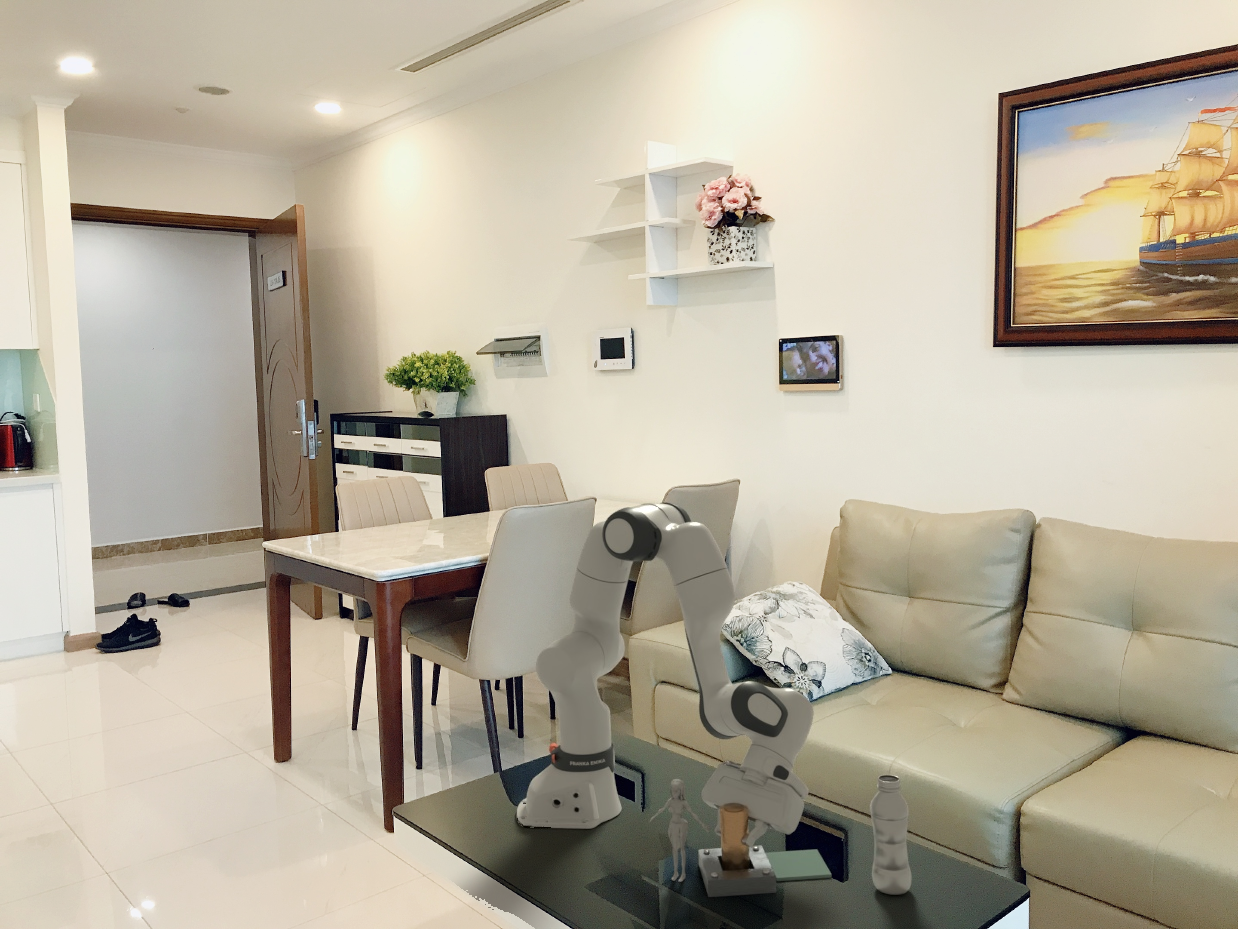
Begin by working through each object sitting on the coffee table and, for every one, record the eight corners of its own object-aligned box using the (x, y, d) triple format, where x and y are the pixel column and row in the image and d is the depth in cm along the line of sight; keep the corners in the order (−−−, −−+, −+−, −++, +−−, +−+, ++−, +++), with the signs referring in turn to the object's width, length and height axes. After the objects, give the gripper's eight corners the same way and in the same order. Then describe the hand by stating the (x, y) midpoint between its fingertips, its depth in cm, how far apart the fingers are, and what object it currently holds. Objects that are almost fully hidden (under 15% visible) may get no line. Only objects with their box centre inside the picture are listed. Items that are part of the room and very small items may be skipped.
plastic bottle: (913, 901, 165) (911, 786, 164) (872, 898, 166) (869, 784, 165) (910, 882, 171) (907, 772, 170) (870, 880, 172) (867, 770, 171)
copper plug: (724, 886, 172) (722, 813, 172) (720, 873, 177) (717, 802, 177) (752, 884, 173) (750, 811, 172) (747, 871, 178) (744, 800, 177)
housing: (708, 897, 169) (707, 878, 169) (698, 865, 181) (698, 847, 181) (776, 892, 169) (775, 873, 169) (762, 861, 181) (761, 843, 181)
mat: (776, 881, 173) (776, 878, 173) (765, 855, 183) (765, 852, 183) (831, 877, 174) (831, 874, 174) (817, 852, 184) (817, 849, 184)
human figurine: (646, 875, 178) (642, 779, 177) (654, 866, 181) (651, 772, 180) (707, 887, 172) (703, 789, 171) (714, 878, 176) (711, 781, 175)
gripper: (714, 750, 186) (681, 815, 180) (801, 776, 171) (768, 849, 165) (730, 766, 190) (698, 831, 183) (816, 793, 175) (785, 865, 169)
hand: (732, 840), depth 174 cm, fingers closed on copper plug, 5 cm apart
